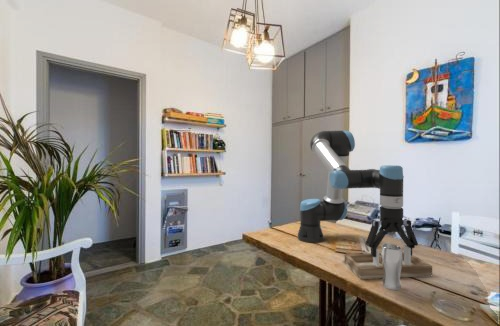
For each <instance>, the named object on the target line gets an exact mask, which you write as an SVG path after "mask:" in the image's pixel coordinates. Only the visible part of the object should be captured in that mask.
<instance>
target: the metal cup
mask: <svg viewBox="0 0 500 326" xmlns="http://www.w3.org/2000/svg"><path fill="white" fill-rule="evenodd" d="M402 252H403V248H402V247H401V246H400V245H398V244H394V243H383V244H381V250H380V253H381V261H382V267H383V272H384V278H382V286H383V287H384V288H385V289H388V290H391V291H401V290H402V285H401V277H400V274H401V269H402V263H403V256H402Z"/></svg>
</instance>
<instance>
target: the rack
mask: <svg viewBox="0 0 500 326" xmlns="http://www.w3.org/2000/svg"><path fill="white" fill-rule="evenodd" d="M402 256H403V263H402V269H401V274H400V278H415V277H417V276H420V277H432V276H433V265H431V264H430V263H428V262H426V261H424V260H423V259H421V258H419V257H418V256H415V255H414V254H412V256H411V265H407V264H406V263H404V251H402ZM344 265H346V267H347V268H348V269H350V271H351V272H353V274H354V275H355V276H357V277H358V278H359V279H360V280H368V279H369V280H372V279H383V278H384V272H383V267H382V261H381V252H379V267H377V266H375V265H374V264H373V256H371V253H354V254H353V253H352V254H344ZM431 275H432V276H431ZM417 278H418V277H417Z"/></svg>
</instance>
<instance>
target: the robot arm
mask: <svg viewBox="0 0 500 326" xmlns="http://www.w3.org/2000/svg"><path fill="white" fill-rule="evenodd" d="M352 133H353V132H351V131H349V130H341V129H340V130H322V131H318V132H317V133H315V134H314V135H313V136H312V138H311V139H310V143H309V147H310V150H311V152H312V154H314V155H315V156H317V157H318V158H319V159H320V161H321V163H322V164H323V165H324V167H325V168H326V169H327V171H328V172H327V173H328V174H327V184H326V195H325V196H323V200H320V199H319V198H308V199H304V200H302V201H301V202H300V205H299V211H300V212H299V213H300V214H299V215H300V221H299V222H300V225H299V229H298V232H297V239H298V240H300V241H301V242H306V243H312V244H314V243H321V242H323V241H324V239H325V238H324V232H323V230H322V227H321V222H330V221H331V222H332V221H336V222H338V221H343V220H344V219H345V218H346V217H347V214H348V205H347V202H345V199H344V198H343V190H345V189H346V190H347V189H379V205H380V207H379V217H380V219H379V220H374V219H373V220H372V221H371V227H370V230H369V232H368V235H367V238H366V242H365V245H366V246H368V247H369V248H370V254H371V256H373V264H374V265H375V266H377V267H379V253H380V248H378V247H379V245H380V244H381V242H382V241H383V239H384V238H385V236H386V235H388V234H389V233H397V235H399V237H400V239H402V241H403V243H404V245H403V252H404V263H406V264H407V265H411V256H412V255H413V249H415V248H416V247H417V246H418V245H419V243H418V240H417V238H416V234H415V232H414V229H413V227H412V220H410V219H407V218H404V208H403V207H404V170H403V169H404V167H403V166H402V165H395V164H394V165H391V164H390V165H380V166H379V169H375V168H368V169H350V168H349V167H348V166H347V165H346V160H347V158H348V157H349V156H350V153H351V152H353V151H354V149H355V145H356V142H355V137H354V134H352ZM403 218H404V219H403ZM402 226H403V227H404V229H403V227H402ZM404 230H405V231H404Z"/></svg>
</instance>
